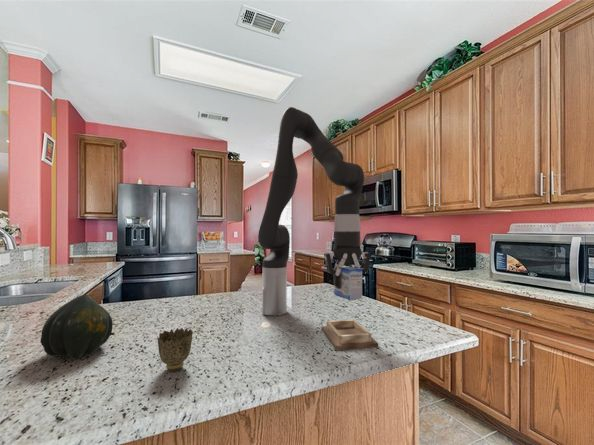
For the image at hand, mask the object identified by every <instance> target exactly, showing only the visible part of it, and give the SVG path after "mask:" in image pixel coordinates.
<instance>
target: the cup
mask: <svg viewBox="0 0 594 445" xmlns="http://www.w3.org/2000/svg"><path fill="white" fill-rule="evenodd" d="M193 333H194V332H193V330H192V328H191V329H189V330H188V328H185V329H183V328H178V327H177V328H176V329H175V331H174V330H173V329H172V328H171V329H170V331H167V330H164V331H163V332H160V333H159V334H158V335H159V336H156V337H157V346H158V354H159V359H160V360H161V362H162V363H164V364H165V365H166V366H165V368H166V369H167V370H166V371H169V372H176V371H180V370H181V369H183V368H184V367H183V366H185V362H184V361H186V360H187V358H189V356H190V353H191V348H192V340H193Z"/></svg>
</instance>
